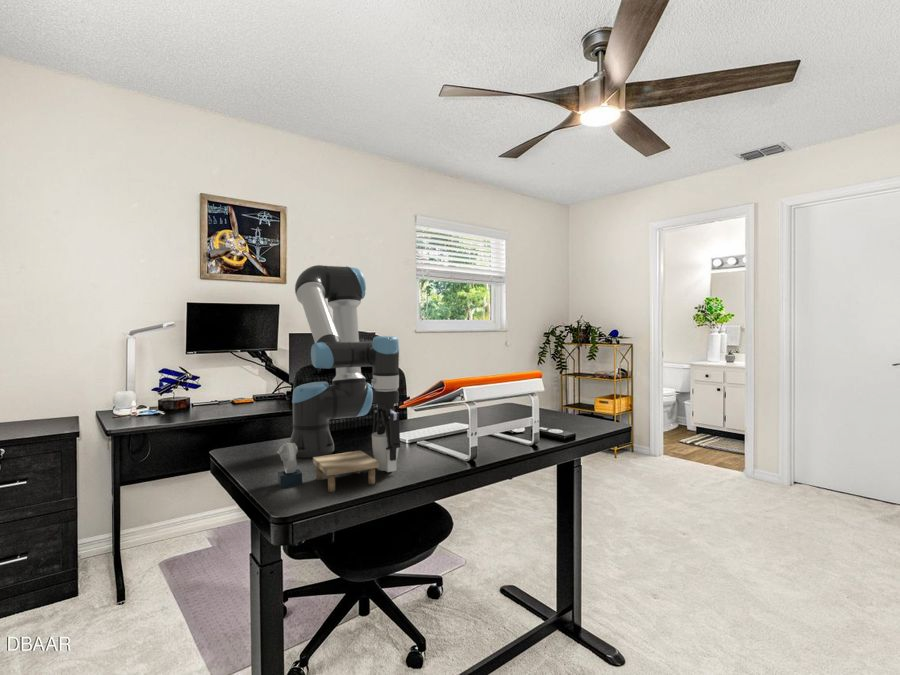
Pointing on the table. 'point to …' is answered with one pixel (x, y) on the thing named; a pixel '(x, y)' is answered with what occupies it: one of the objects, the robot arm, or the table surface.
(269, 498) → the table surface
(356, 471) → the small wooden table
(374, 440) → the cup
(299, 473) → the watch
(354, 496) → the table surface
